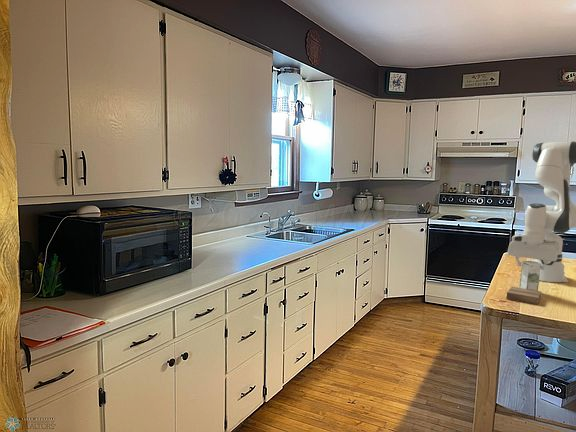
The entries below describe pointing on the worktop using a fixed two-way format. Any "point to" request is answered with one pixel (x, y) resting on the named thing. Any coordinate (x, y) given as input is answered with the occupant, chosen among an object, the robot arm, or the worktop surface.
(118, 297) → the worktop surface
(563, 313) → the worktop surface
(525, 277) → the syrup box
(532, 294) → the walnut base
